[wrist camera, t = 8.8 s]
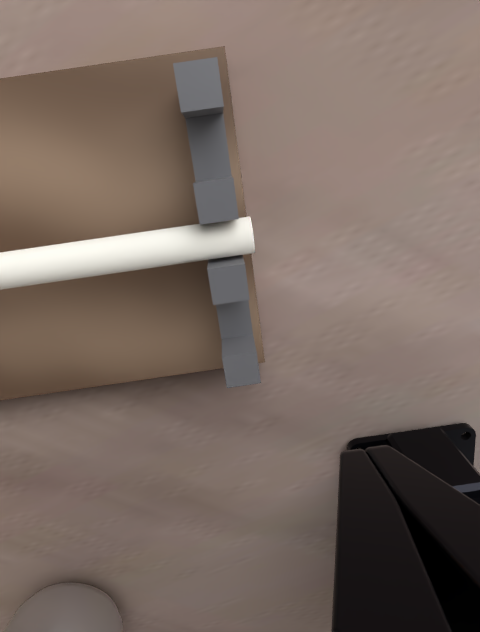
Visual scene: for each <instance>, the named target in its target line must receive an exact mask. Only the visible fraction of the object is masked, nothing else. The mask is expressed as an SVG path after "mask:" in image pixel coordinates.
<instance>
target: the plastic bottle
mask: <svg viewBox="0 0 480 632" xmlns="http://www.w3.org/2000/svg"><path fill="white" fill-rule="evenodd" d="M3 632H123V624H122V620H121V617H120V614H119V612H118V609H117V607H116V604H115V603H114V601H113V600H112V598H110V597H109V596H108V595H107V594H106V593H105V592H103V591H102V590H100V589H98V588H96V587H93V586H91V585H87V584H83V583H74V582H71V583H60V584H54V585H51V586H49V587H46V588H44V589H42V590H40V591H39V592H37V593H36V594H35V595H33V596H32V597H31V598H29V599H28V600H27V601H26V602H24V603H23V604H22V605H21V606H20V607H19V609H18V610H17V611H16V613H15V614H14V616H13V617H12V619H11V620H10V622H9V624H8V625H7V627H6V628H5V630H4V631H3Z"/></svg>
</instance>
